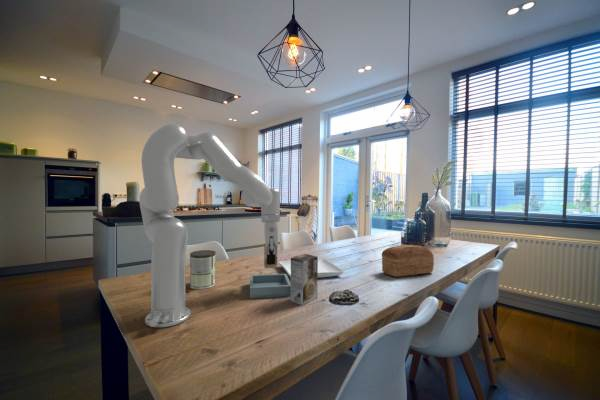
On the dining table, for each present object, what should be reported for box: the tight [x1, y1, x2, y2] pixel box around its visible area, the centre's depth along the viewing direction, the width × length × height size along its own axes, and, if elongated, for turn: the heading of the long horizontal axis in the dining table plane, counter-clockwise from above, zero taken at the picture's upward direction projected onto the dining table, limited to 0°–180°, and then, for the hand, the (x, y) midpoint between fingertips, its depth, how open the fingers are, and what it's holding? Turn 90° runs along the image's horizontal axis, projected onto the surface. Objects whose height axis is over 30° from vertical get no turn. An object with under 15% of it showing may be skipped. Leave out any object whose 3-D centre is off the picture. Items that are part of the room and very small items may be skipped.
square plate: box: [277, 258, 345, 279], centre depth 134 cm, size 27×27×4 cm
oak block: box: [263, 243, 278, 269], centre depth 107 cm, size 5×5×9 cm
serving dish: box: [249, 273, 291, 299], centre depth 107 cm, size 16×16×4 cm
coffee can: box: [189, 249, 216, 290], centre depth 111 cm, size 10×10×14 cm
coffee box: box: [289, 253, 319, 306], centre depth 97 cm, size 9×6×16 cm
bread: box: [381, 244, 435, 278], centre depth 134 cm, size 12×28×14 cm, turn 111°
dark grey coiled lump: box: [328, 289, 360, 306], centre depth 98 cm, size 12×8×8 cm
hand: (270, 261), depth 107 cm, fingers closed on oak block, 5 cm apart
